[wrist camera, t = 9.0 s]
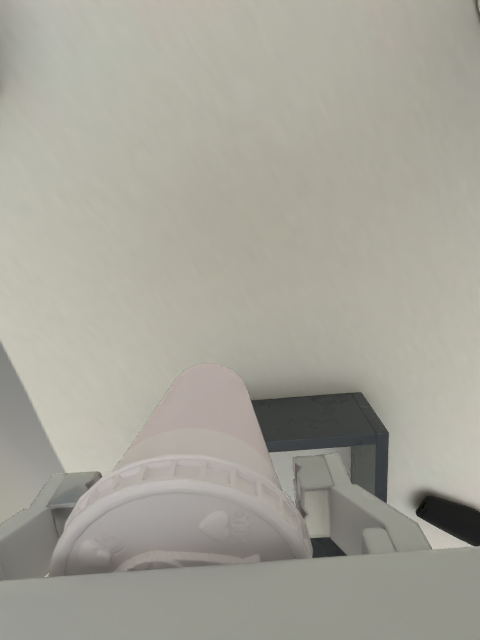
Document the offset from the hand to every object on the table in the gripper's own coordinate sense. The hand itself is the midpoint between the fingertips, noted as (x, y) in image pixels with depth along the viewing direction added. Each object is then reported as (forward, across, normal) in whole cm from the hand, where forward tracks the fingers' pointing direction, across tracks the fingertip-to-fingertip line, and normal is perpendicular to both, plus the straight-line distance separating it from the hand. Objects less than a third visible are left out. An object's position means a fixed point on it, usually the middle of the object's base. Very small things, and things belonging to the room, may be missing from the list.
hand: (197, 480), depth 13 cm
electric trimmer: (+23, -24, +26) cm, 43 cm away
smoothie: (+6, 0, 0) cm, 6 cm away
